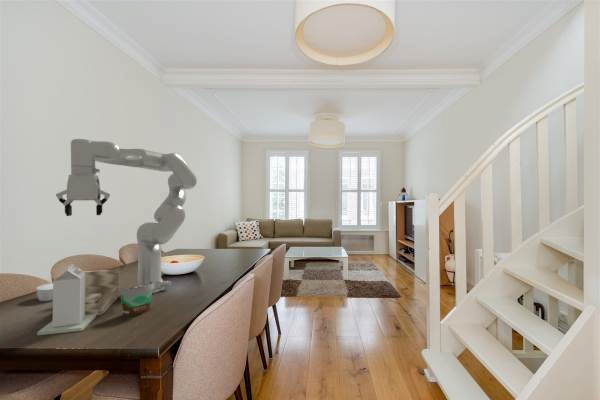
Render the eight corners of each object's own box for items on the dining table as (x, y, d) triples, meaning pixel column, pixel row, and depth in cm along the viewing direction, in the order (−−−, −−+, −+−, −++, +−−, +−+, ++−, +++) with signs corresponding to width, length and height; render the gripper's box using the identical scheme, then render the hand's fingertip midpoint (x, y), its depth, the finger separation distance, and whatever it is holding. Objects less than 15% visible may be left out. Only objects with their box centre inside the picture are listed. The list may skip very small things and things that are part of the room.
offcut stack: (102, 307, 111) (102, 292, 111) (95, 314, 105) (95, 298, 105) (71, 310, 108) (71, 294, 108) (62, 317, 102) (63, 300, 102)
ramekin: (50, 303, 115) (50, 290, 115) (28, 301, 117) (28, 288, 117) (76, 294, 126) (76, 282, 126) (56, 292, 128) (56, 281, 128)
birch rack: (118, 297, 123) (118, 269, 123) (101, 314, 104) (102, 281, 104) (78, 300, 118) (79, 271, 118) (54, 319, 100) (54, 284, 100)
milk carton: (52, 328, 91) (53, 268, 91) (59, 319, 97) (60, 264, 97) (79, 324, 94) (80, 266, 94) (85, 316, 100) (85, 262, 100)
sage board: (95, 316, 102) (95, 313, 102) (81, 330, 91) (81, 327, 91) (56, 320, 99) (56, 317, 99) (37, 335, 88) (37, 332, 88)
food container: (127, 319, 100) (127, 291, 100) (118, 316, 103) (118, 288, 103) (160, 308, 110) (160, 283, 110) (151, 305, 114) (151, 280, 114)
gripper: (111, 172, 117) (112, 214, 118) (60, 171, 111) (61, 215, 112) (106, 171, 110) (107, 215, 111) (51, 170, 104) (52, 216, 105)
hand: (84, 215), depth 111 cm, fingers open, 9 cm apart
